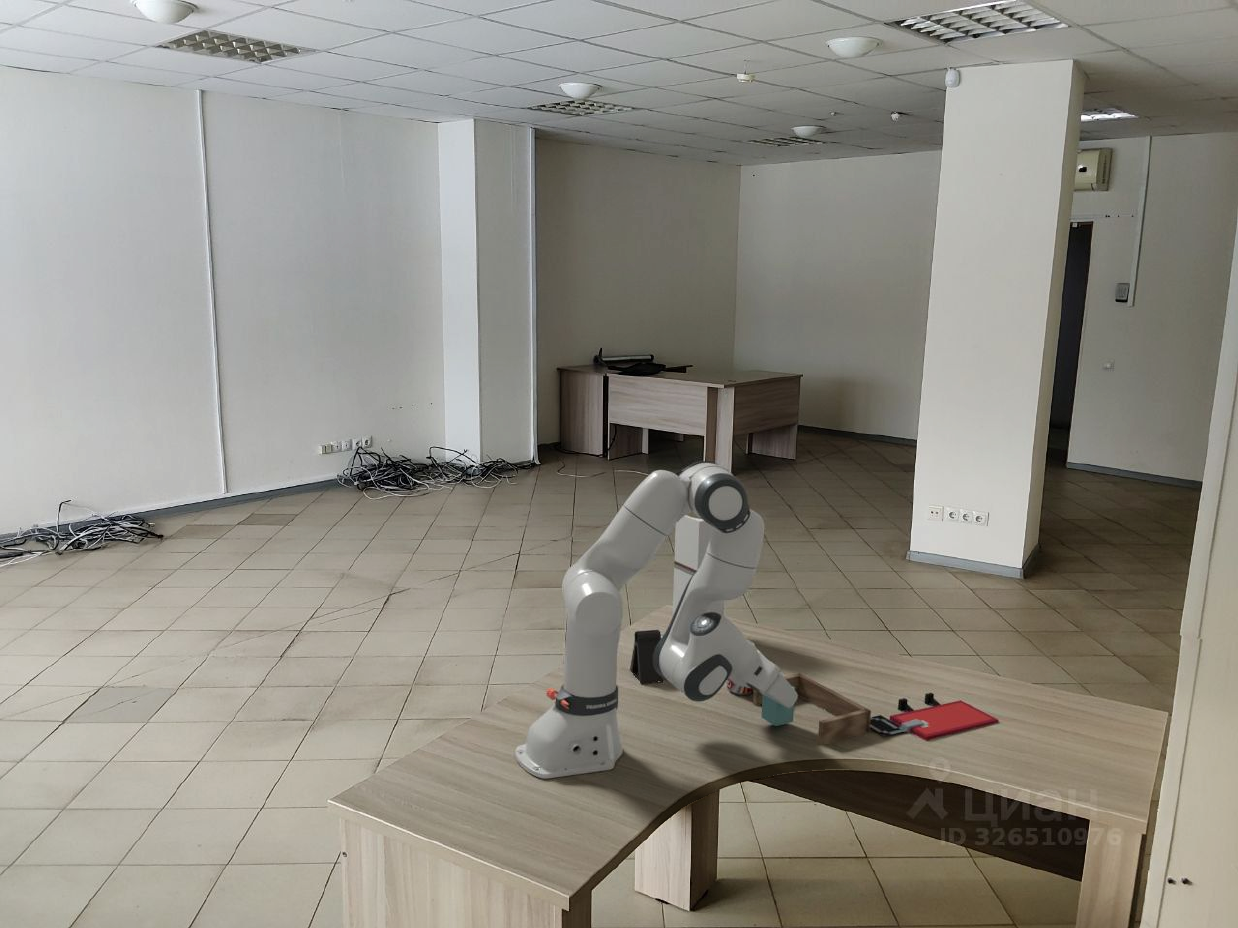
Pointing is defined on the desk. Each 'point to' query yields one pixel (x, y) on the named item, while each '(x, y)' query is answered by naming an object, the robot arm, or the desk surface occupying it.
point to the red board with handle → (932, 719)
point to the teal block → (776, 712)
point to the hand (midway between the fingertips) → (777, 699)
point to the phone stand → (645, 656)
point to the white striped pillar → (691, 557)
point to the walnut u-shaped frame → (829, 709)
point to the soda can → (738, 689)
